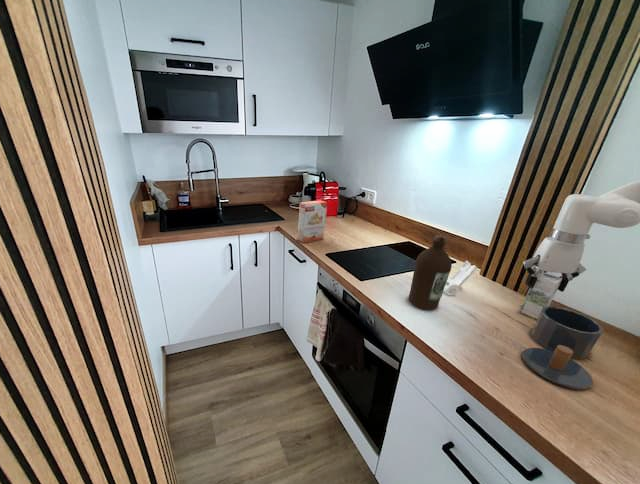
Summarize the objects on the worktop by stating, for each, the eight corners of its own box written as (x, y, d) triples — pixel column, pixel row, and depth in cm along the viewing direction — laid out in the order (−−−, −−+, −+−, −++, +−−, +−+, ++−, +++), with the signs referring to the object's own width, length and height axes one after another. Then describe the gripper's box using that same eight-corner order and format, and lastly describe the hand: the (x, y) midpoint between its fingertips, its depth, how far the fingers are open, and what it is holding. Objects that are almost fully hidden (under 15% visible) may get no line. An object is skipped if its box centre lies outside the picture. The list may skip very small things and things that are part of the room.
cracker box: (303, 243, 151) (305, 204, 142) (296, 239, 155) (299, 202, 147) (324, 239, 157) (327, 202, 149) (317, 236, 162) (320, 199, 154)
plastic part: (433, 285, 113) (439, 258, 108) (455, 284, 114) (463, 257, 109) (445, 295, 106) (453, 267, 101) (469, 293, 107) (478, 266, 102)
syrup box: (545, 315, 95) (563, 277, 90) (539, 321, 92) (558, 282, 86) (524, 307, 100) (541, 270, 94) (518, 312, 97) (534, 274, 91)
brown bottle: (400, 299, 102) (415, 233, 92) (419, 292, 107) (436, 229, 97) (426, 314, 94) (445, 244, 84) (446, 307, 98) (467, 239, 89)
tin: (567, 333, 87) (580, 309, 84) (600, 362, 76) (616, 337, 73) (522, 327, 89) (532, 304, 86) (547, 354, 78) (560, 329, 75)
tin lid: (565, 355, 78) (576, 335, 75) (606, 396, 66) (620, 374, 63) (511, 347, 80) (519, 328, 78) (540, 385, 68) (552, 364, 66)
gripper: (591, 235, 87) (566, 285, 94) (526, 230, 90) (507, 279, 97) (612, 244, 80) (583, 297, 87) (541, 238, 83) (519, 290, 90)
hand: (543, 287), depth 92 cm, fingers closed on syrup box, 7 cm apart
